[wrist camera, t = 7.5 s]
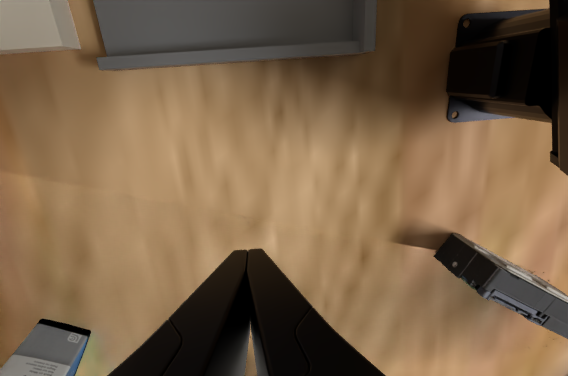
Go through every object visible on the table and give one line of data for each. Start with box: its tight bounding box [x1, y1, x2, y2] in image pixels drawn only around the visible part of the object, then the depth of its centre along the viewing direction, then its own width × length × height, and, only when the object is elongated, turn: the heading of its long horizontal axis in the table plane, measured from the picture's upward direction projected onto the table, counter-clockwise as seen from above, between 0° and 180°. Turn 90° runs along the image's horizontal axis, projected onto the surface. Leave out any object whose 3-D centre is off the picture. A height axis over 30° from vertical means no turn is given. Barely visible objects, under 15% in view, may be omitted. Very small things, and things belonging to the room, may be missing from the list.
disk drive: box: [434, 233, 568, 339], centre depth 27 cm, size 10×3×15 cm, turn 61°
